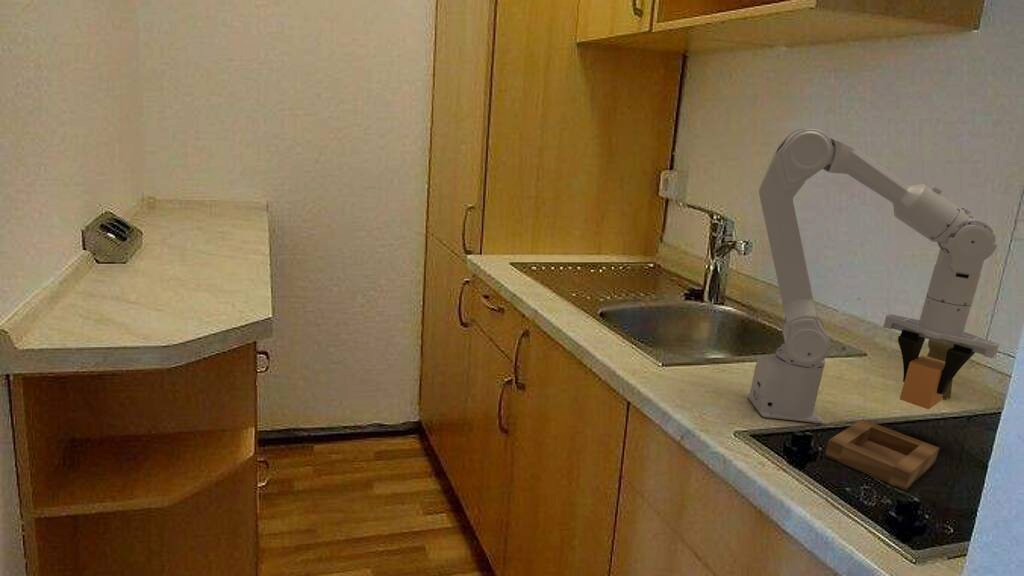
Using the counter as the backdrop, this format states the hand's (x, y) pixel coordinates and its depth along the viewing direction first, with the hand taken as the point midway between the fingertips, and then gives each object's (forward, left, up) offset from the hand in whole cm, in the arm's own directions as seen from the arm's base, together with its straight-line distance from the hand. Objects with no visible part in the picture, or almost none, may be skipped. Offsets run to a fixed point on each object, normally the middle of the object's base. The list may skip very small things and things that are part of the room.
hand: (923, 386), depth 105 cm
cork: (+15, +21, -8) cm, 27 cm away
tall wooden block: (0, 0, -2) cm, 2 cm away
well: (-9, -9, -8) cm, 15 cm away
